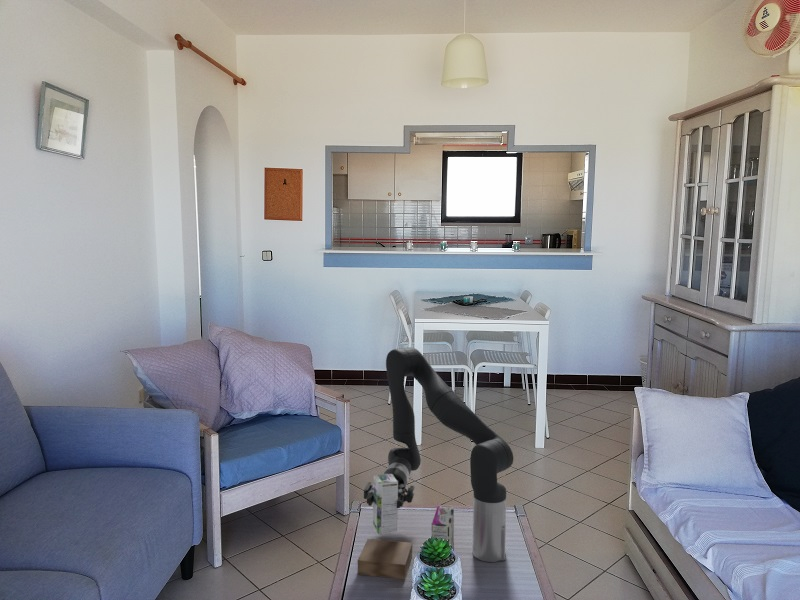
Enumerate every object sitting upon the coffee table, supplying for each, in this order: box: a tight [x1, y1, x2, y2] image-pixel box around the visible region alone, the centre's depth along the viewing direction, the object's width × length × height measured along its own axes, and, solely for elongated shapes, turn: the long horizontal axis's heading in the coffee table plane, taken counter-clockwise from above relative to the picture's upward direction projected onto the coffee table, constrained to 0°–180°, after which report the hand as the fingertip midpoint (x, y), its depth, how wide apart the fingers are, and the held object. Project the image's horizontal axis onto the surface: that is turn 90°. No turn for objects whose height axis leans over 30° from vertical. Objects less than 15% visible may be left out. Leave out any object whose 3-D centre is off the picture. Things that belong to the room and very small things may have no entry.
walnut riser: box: [357, 538, 413, 580], centre depth 171 cm, size 13×12×4 cm
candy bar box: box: [431, 505, 455, 552], centre depth 167 cm, size 11×5×16 cm, turn 168°
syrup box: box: [372, 473, 399, 535], centre depth 170 cm, size 6×6×14 cm
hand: (383, 503), depth 168 cm, fingers closed on syrup box, 7 cm apart
